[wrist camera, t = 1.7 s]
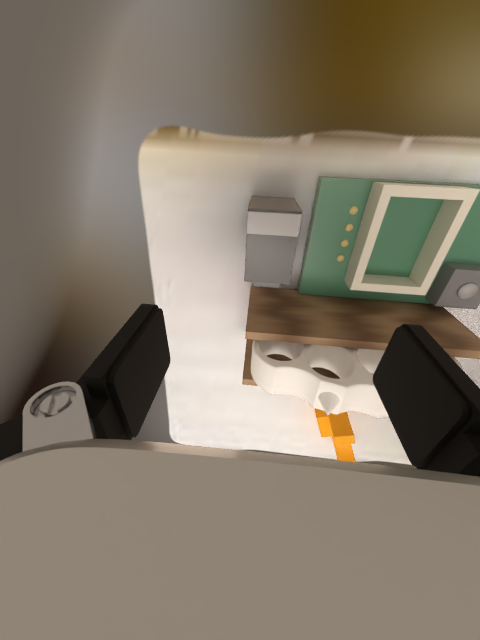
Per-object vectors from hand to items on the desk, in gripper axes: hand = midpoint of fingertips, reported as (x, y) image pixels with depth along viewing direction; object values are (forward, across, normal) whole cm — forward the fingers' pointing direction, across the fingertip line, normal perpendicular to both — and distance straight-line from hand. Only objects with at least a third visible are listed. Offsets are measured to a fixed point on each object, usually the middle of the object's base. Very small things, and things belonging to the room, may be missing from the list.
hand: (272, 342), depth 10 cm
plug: (+18, 0, 0) cm, 19 cm away
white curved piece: (+19, -8, +10) cm, 23 cm away
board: (+18, -13, +1) cm, 23 cm away
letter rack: (+18, -9, +10) cm, 23 cm away
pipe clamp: (+19, -14, +31) cm, 39 cm away
